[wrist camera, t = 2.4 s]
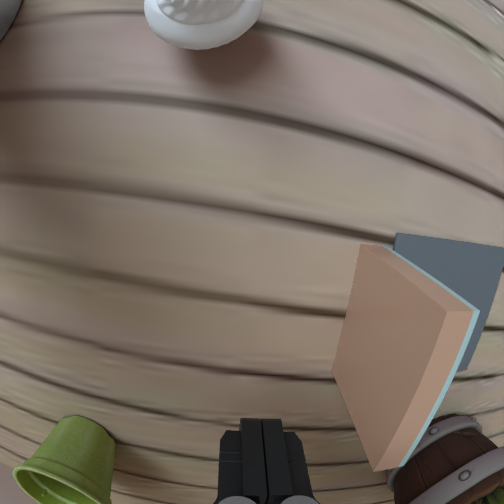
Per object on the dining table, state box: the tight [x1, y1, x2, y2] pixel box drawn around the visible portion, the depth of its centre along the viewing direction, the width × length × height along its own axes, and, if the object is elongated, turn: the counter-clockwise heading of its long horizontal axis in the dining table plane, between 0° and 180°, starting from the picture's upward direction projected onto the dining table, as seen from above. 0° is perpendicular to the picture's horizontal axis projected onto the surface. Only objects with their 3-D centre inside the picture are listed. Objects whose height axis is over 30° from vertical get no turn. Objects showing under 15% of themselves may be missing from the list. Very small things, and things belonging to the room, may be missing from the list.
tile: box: [332, 244, 480, 472], centre depth 17 cm, size 10×2×10 cm, turn 174°
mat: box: [393, 233, 504, 371], centre depth 22 cm, size 12×12×1 cm
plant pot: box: [13, 416, 116, 504], centre depth 20 cm, size 9×9×9 cm
